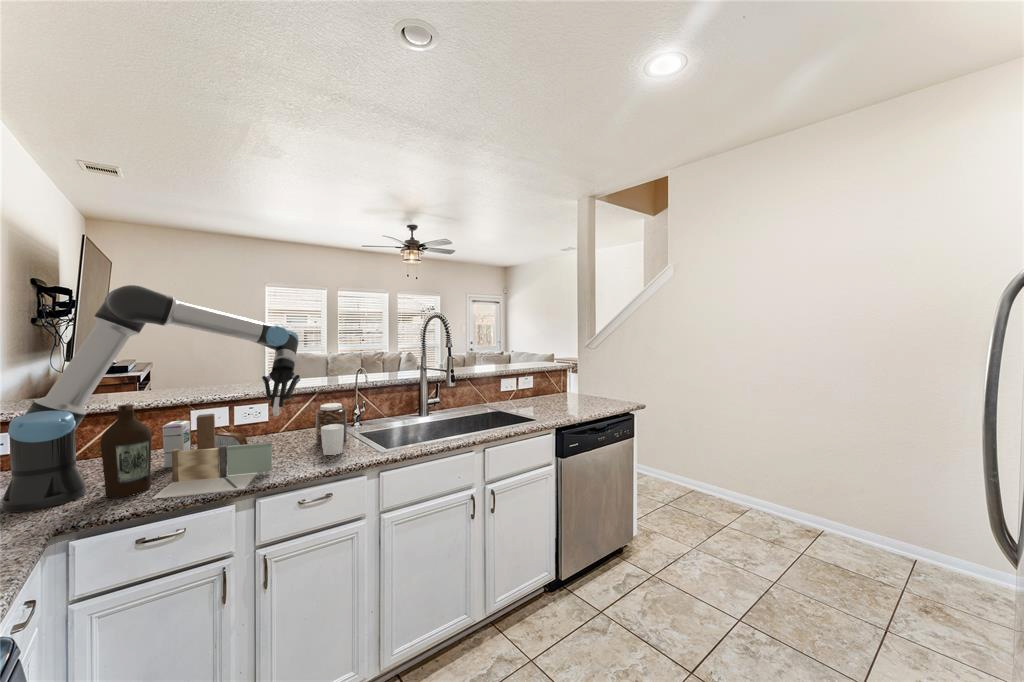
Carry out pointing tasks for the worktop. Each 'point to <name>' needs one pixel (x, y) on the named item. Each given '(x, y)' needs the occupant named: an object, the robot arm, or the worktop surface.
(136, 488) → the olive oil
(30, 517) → the worktop surface
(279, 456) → the worktop surface
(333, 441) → the white cup
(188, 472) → the fixed fence section
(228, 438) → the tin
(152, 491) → the worktop surface
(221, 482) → the card
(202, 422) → the wooden block
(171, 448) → the syrup box
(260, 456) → the hinged fence section
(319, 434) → the jar
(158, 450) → the worktop surface
